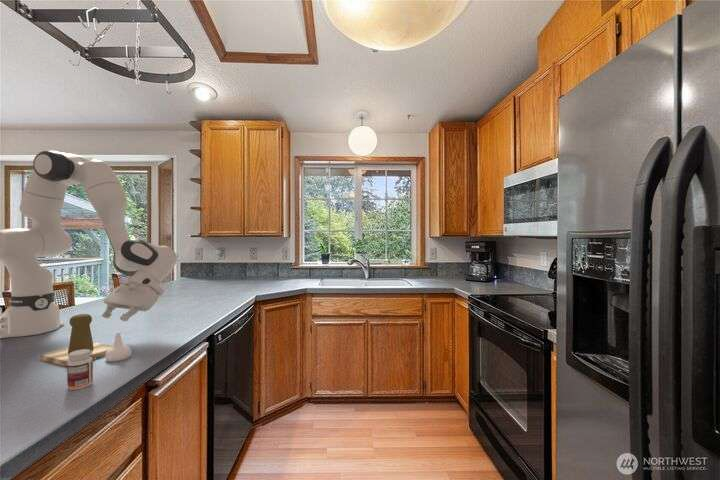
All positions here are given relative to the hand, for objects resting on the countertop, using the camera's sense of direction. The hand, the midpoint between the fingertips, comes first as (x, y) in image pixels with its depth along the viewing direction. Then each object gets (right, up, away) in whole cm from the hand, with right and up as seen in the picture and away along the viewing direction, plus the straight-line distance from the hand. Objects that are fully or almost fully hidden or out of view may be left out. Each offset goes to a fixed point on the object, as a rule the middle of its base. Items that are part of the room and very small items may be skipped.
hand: (113, 318), depth 109 cm
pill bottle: (+13, -10, -28) cm, 33 cm away
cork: (-4, -8, -9) cm, 12 cm away
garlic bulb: (+9, -10, -10) cm, 17 cm away
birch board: (-4, -9, -9) cm, 13 cm away
